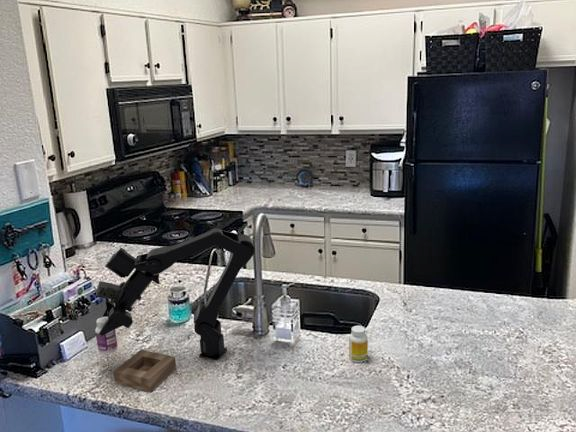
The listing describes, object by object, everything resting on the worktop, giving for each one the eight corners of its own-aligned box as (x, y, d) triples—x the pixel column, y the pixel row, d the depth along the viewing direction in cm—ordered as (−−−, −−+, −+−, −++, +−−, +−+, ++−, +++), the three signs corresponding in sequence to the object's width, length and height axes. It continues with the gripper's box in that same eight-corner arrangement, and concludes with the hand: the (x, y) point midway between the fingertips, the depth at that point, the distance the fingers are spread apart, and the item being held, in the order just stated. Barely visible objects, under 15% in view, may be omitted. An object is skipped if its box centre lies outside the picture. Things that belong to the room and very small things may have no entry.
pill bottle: (111, 355, 147) (107, 324, 145) (94, 354, 148) (89, 323, 146) (121, 345, 152) (116, 315, 150) (105, 344, 153) (100, 314, 151)
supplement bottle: (345, 356, 155) (345, 327, 152) (360, 351, 157) (360, 322, 154) (355, 364, 150) (355, 334, 147) (371, 360, 152) (371, 330, 150)
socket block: (176, 369, 151) (174, 356, 150) (150, 392, 141) (149, 379, 140) (142, 361, 156) (140, 349, 155) (115, 383, 145) (113, 370, 144)
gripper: (108, 261, 154) (74, 303, 153) (113, 283, 137) (75, 331, 136) (139, 281, 159) (107, 321, 158) (148, 304, 142) (111, 350, 141)
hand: (100, 330), depth 148 cm, fingers closed on pill bottle, 5 cm apart
